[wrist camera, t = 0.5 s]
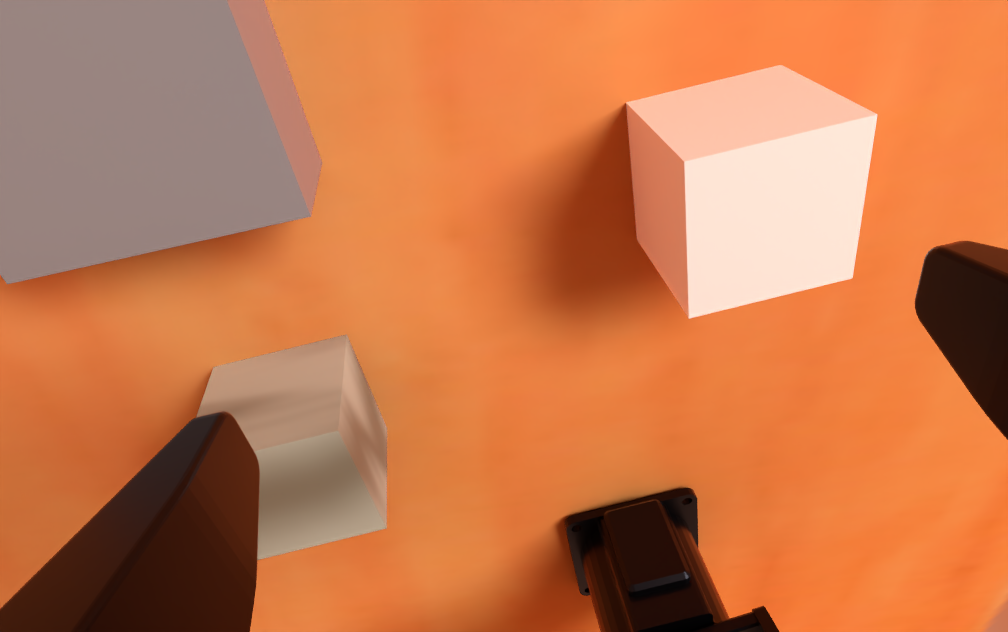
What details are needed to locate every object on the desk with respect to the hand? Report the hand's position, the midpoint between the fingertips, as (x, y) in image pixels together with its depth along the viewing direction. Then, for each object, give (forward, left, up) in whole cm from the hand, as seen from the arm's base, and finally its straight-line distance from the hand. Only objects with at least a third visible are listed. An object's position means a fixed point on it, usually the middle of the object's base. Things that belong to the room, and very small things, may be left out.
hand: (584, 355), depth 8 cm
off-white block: (-4, -7, -13) cm, 16 cm away
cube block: (-10, +9, -13) cm, 19 cm away
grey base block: (+3, +9, -14) cm, 17 cm away
